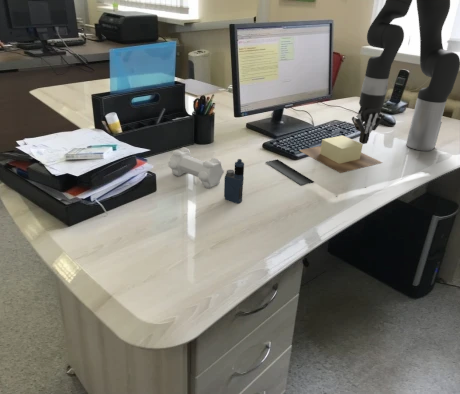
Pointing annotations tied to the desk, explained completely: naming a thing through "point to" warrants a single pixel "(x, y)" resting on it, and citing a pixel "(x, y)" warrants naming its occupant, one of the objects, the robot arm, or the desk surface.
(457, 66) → the robot arm
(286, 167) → the mat
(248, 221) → the desk surface
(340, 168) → the brown cloth
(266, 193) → the desk surface
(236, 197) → the vaping device
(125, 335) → the desk surface
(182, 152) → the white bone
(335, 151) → the memo block
